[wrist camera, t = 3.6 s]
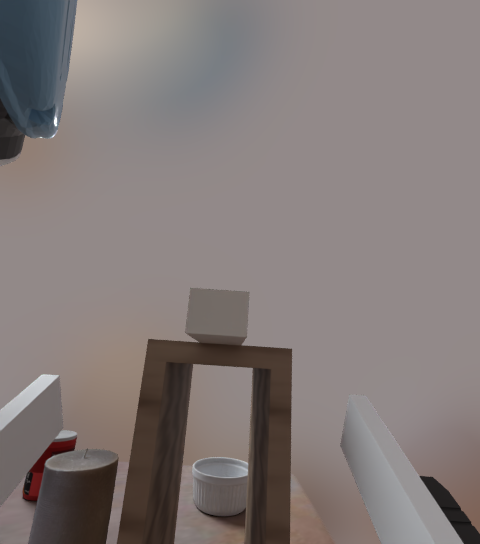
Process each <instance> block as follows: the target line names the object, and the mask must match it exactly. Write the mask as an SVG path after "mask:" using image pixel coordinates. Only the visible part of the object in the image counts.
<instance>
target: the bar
mask: <svg viewBox="0 0 480 544" xmlns="http://www.w3.org/2000/svg"><path fill="white" fill-rule="evenodd" d="M248 307H249V292H242V291H228V290H214V289H200V288H190V295H189V304H188V313H187V321H186V329H185V333H186V334H188V335H189V336H191V337H192V338H194V339H195V340H197V341H198V342H200V343H212V344H227V345H242V343H243V342H244V340H245V339H246V338H247V324H248Z"/></svg>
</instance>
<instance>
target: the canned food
mask: <svg viewBox="0 0 480 544" xmlns="http://www.w3.org/2000/svg"><path fill="white" fill-rule="evenodd" d="M76 439H77V433H76V432H73V431H68V430H61V431H60V433H59V434H58V435H57V436H56V438H55V439H54V440H53V441H52V443H51V444H50V445H49V446H48V448H47V449H46V450H45V451H44V453H43V454H42V455H41V456H40V458H39V459H38V460H37V462H36V463H35V464H34V465H33V467H32V468H31V469H30V470H29V472H28V473H27V475H26V479H25V483H24V487H23V497H24V498H25V499H27V500H31V501H38V496H39V491H40V487H41V482H42V477H43V472H44V468H45V465H44V464H45V463H46V461H47V460H48V459H49V458H51V457H53V456H56V455H59V454H62V453H66V452H71V451H74V449H75V444H76Z"/></svg>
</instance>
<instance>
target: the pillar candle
mask: <svg viewBox="0 0 480 544" xmlns="http://www.w3.org/2000/svg"><path fill="white" fill-rule="evenodd" d="M44 465H45V468H44V472H43V477H42V482H41V487H40V491H39V496H38V501H37V505H36V510H35V515H34V519H33V524H32V528H31V533H30V537H29V542H28V544H106V539H107V533H108V525H109V520H110V514H111V506H112V500H113V493H114V487H115V480H116V473H117V466H118V455H117V454H116V453H114V452H111V451H107V450H100V449H86V450H77V451H71V452H66V453H62V454H59V455H56V456H53V457H51V458H49V459H48V460H47V461H46V463H45V464H44Z"/></svg>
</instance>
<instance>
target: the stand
mask: <svg viewBox="0 0 480 544" xmlns="http://www.w3.org/2000/svg"><path fill="white" fill-rule="evenodd" d="M193 364H203V365H218V366H233V367H248V368H253V376H252V396H251V416H250V418H251V419H250V437H249V438H250V439H249V458H248V478H247V499H246V520H245V540H244V544H290V479H291V472H290V471H291V387H292V384H291V383H292V382H291V380H292V349H286V348H271V347H256V346H242V345H227V344H212V343H198V342H197V343H196V342H183V341H168V340H154V339H149V340H148V345H147V352H146V358H145V365H144V371H143V377H142V384H141V390H140V397H139V404H138V410H137V417H136V423H135V431H134V436H133V443H132V449H131V456H130V462H129V469H128V475H127V482H126V488H125V495H124V501H123V508H122V514H121V521H120V527H119V534H118V540H117V544H174V538H175V529H176V520H177V510H178V501H179V491H180V482H181V473H182V463H183V454H184V445H185V435H186V425H187V415H188V407H189V397H190V388H191V378H192V369H193Z"/></svg>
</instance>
